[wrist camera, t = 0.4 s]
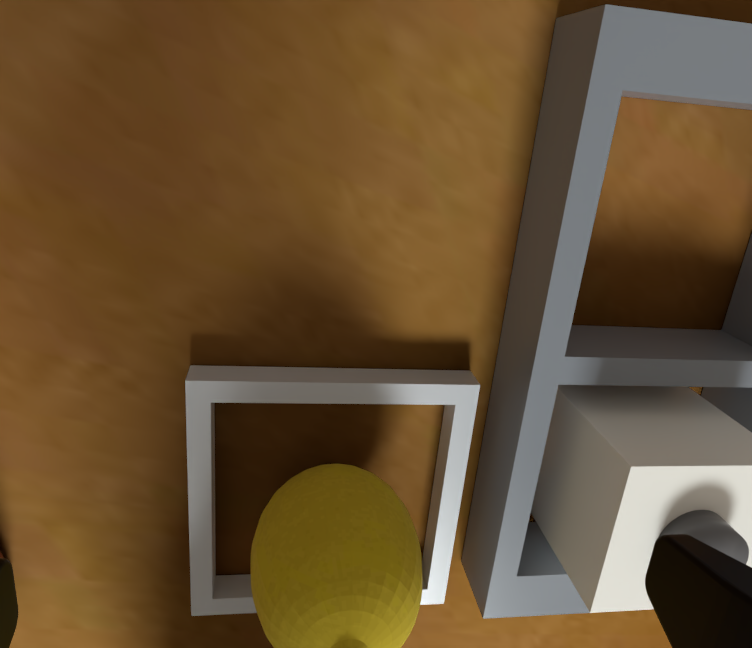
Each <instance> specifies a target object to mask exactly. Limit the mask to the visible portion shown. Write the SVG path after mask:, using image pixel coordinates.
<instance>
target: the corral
mask: <svg viewBox="0 0 752 648" xmlns="http://www.w3.org/2000/svg"><path fill="white" fill-rule="evenodd" d="M479 390H480V384H479V382H478V381H477V379H476V378H475V377H474V375H473V374H472V372H471V371H467V370H415V369H362V368H309V367H257V366H204V365H190V368H189V371H188V374H187V377H186V380H185V394H186V432H187V471H188V509H189V547H190V585H191V616H202V615H222V614H243V613H257V611H256V608H255V604H254V601H253V596H252V590H251V574H245V575H220V576H216V533H215V403H311V404H424V405H445V407H444V414H443V420H442V427H441V434H440V441H439V448H438V455H437V462H436V468H435V475H434V482H433V489H432V496H431V503H430V510H429V517H428V523H427V530H426V537H425V544H424V551H423V558H422V580H423V582H422V598H421V603H420V605H424V604H444V599H445V593H446V587H447V581H448V575H449V569H450V563H451V558H452V552H453V546H454V540H455V534H456V528H457V522H458V516H459V510H460V504H461V498H462V492H463V486H464V480H465V474H466V468H467V462H468V456H469V450H470V444H471V438H472V432H473V426H474V420H475V414H476V408H477V402H478V396H479Z"/></svg>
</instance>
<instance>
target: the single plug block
mask: <svg viewBox="0 0 752 648" xmlns="http://www.w3.org/2000/svg"><path fill="white" fill-rule="evenodd" d="M531 514H532V516H533V517H534V519H535V521H536V522H537V524H538V526H539V527H540V529H541V531H542V533H543V534H544V536H545V538H546V539H547V541H548V543H549V544H550V546H551V548H552V549H553V551H554V553H555V554H556V556H557V558H558V559H559V561H560V563H561V565H562V566H563V568H564V570H565V571H566V573H567V575H568V576H569V578H570V580H571V581H572V583H573V585H574V586H575V588H576V590H577V591H578V593H579V595H580V597H581V598H582V600H583V602H584V603H585V605H586V607H587V608H588V610H589V612H590V613H595V612H613V611H631V610H650V609H654V608H653V606H652V604H651V602H650V600H649V597H648V595H647V592H646V587H645V577H646V573H647V569H648V565H649V562H650V558H651V555H652V551H653V548H654V544H655V541H656V540H657V538H658V537H659V536H661V535H664V534H687V535H690V536H692V537H694V538H696V539H698V540H700V541H702V542H703V543H705V544H707V545H709V546H711V547H713V548H715V549H717V550H719V551H721V552H723V553H725V554H727V555H728V556H730V557H732V558H734V559H736V560H738V561H740V562H742V563H744V564H746V565H748V566H750V567H752V432H750V431H749V430H747V429H746V428H745V427H743V426H742V425H740V424H739V423H738V422H736V421H735V420H734V419H732V418H731V417H729V416H728V415H727V414H725V413H724V412H722V411H721V410H720V409H718V408H717V407H715V406H714V405H713V404H711V403H710V402H708V401H707V400H706V399H704V398H703V397H701V396H700V395H699V394H697V393H696V392H695V391H693V390H692V389H690V388H689V387H679V386H613V385H558V389H557V394H556V399H555V403H554V408H553V412H552V417H551V421H550V426H549V431H548V435H547V440H546V444H545V449H544V454H543V458H542V463H541V467H540V472H539V476H538V481H537V486H536V490H535V495H534V499H533V504H532V509H531Z"/></svg>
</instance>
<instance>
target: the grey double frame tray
mask: <svg viewBox="0 0 752 648" xmlns="http://www.w3.org/2000/svg"><path fill="white" fill-rule="evenodd" d="M621 96H624V97H633V98H643V99H652V100H662V101H671V102H681V103H690V104H700V105H710V106H719V107H729V108H738V109H748V110H752V24H751V23H743V22H736V21H728V20H721V19H713V18H706V17H698V16H691V15H683V14H676V13H668V12H661V11H653V10H646V9H638V8H631V7H623V6H615V5H608V4H604V5H601V6H597V7H594V8H590V9H587V10H583V11H580V12H576V13H573V14H569V15H566V16H562V17H559V18H556V22H555V28H554V34H553V39H552V45H551V51H550V57H549V62H548V68H547V74H546V79H545V85H544V91H543V97H542V102H541V108H540V114H539V119H538V125H537V131H536V137H535V142H534V148H533V154H532V160H531V165H530V171H529V177H528V182H527V188H526V194H525V200H524V205H523V211H522V217H521V223H520V228H519V234H518V240H517V245H516V251H515V257H514V263H513V268H512V274H511V280H510V285H509V291H508V297H507V303H506V308H505V314H504V320H503V326H502V331H501V337H500V343H499V348H498V354H497V360H496V366H495V371H494V377H493V383H492V389H491V394H490V400H489V406H488V411H487V417H486V423H485V429H484V434H483V440H482V446H481V451H480V457H479V463H478V469H477V474H476V480H475V486H474V492H473V497H472V503H471V509H470V514H469V520H468V526H467V532H466V537H465V543H464V549H463V554H462V560H461V562H462V565H463V567H464V570H465V573H466V575H467V578H468V580H469V583H470V586H471V588H472V591H473V594H474V596H475V599H476V601H477V604H478V607H479V609H480V612H481V614H482V617H483V619H484V618H502V617H520V616H539V615H557V614H575V613H590V612H589V610H588V608H587V607H586V605H585V603H584V602H583V600H582V598H581V597H580V595H579V593H578V591H577V590H576V588H575V586H574V585H573V583H572V581H571V580H570V578H569V576H568V575H567V573H566V571H565V570H564V568H563V566H562V565H561V563H560V561H559V559H558V558H557V556H556V554H555V553H554V551H553V549H552V548H551V546H550V544H549V543H548V541H547V539H546V538H545V536H544V534H543V533H542V531H541V529H540V527H539V526H538V524H537V522H529V518H530V513H531V509H532V504H533V499H534V495H535V490H536V486H537V481H538V476H539V472H540V467H541V463H542V458H543V454H544V449H545V444H546V440H547V435H548V431H549V426H550V421H551V417H552V412H553V408H554V403H555V399H556V394H557V389H558V385H613V386H679V387H703V390H702V393H701V397H703V398H704V399H706V400H707V401H708V402H710V403H711V404H713V405H714V406H715V407H717V408H718V409H720V410H721V411H722V412H724V413H725V414H727V415H728V416H729V417H731V418H732V419H734V420H735V421H736V422H738V423H739V424H740V425H742V426H743V427H745V428H746V429H747V430H749V431H750V432H752V234H751V237H750V240H749V243H748V247H747V250H746V253H745V256H744V259H743V263H742V266H741V269H740V272H739V275H738V279H737V282H736V285H735V288H734V291H733V294H732V298H731V301H730V304H729V307H728V310H727V314H726V317H725V320H724V323H723V326H722V330H706V329H676V328H646V327H616V326H586V325H572V321H573V316H574V311H575V307H576V302H577V298H578V293H579V288H580V284H581V279H582V275H583V270H584V266H585V261H586V256H587V252H588V247H589V243H590V238H591V233H592V229H593V224H594V220H595V215H596V211H597V206H598V201H599V197H600V192H601V188H602V183H603V178H604V174H605V169H606V165H607V160H608V156H609V151H610V146H611V142H612V137H613V133H614V128H615V123H616V119H617V114H618V110H619V105H620V101H621Z"/></svg>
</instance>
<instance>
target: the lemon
mask: <svg viewBox="0 0 752 648" xmlns="http://www.w3.org/2000/svg"><path fill="white" fill-rule="evenodd" d="M422 582H423V580H422V556H421V548H420V543H419V539H418V536H417V533H416V530H415V528H414V525H413V522H412V520H411V517H410V515H409V513H408V511H407V509H406V507H405V505H404V504H403V502H402V501H401V500H400V499H399V497H398V496H397V495H396V493H395V492H394V491H393V490H392V488H391V487H390V486H389V485H388V484H387V483H385V482H384V481H383V480H381V479H380V478H379V477H377V476H376V475H374V474H373V473H371V472H369V471H366V470H364V469H361V468H359V467H356V466H353V465H345V464H325V465H319V466H316V467H313V468H310V469H306V470H304V471H303V472H301V473H299V474H297V475H295V476H294V477H292V478H291V479H289V480H288V481H287V482H286V483H285V484H284V485H283V486H282V487H280V488H279V489H278V490H277V491H276V492H275V494H274V495H273V496H272V498H271V500H270V501H269V503H268V504H267V506H266V507H265V509H264V510H263V512H262V514H261V517H260V520H259V523H258V526H257V529H256V532H255V535H254V539H253V543H252V547H251V590H252V596H253V601H254V604H255V608H256V611H257V614H258V617H259V619H260V622H261V625H262V628H263V630H264V633H265V635H266V637H267V639H268V640H269V642H270V643H271V644H272V646H273V647H274V648H401V647H402V645H403V644H404V642H405V641H406V639H407V637H408V636H409V634H410V633H411V631H412V629H413V626H414V624H415V621H416V618H417V614H418V611H419V607H420V603H421V598H422Z"/></svg>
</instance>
